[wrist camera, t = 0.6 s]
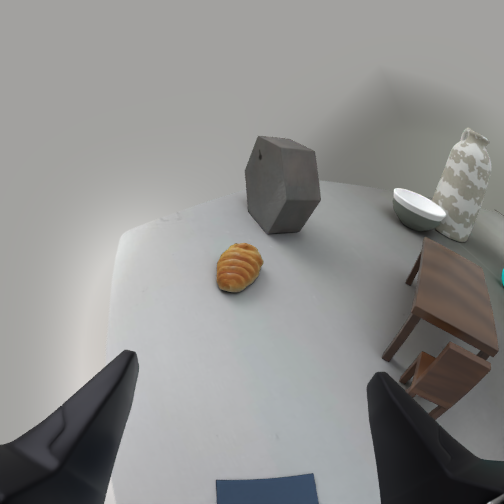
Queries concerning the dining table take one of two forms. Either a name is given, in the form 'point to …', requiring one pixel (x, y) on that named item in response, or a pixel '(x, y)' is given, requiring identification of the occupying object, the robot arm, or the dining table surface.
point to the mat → (268, 491)
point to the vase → (463, 185)
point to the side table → (450, 300)
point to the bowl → (417, 210)
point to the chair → (445, 376)
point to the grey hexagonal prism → (281, 184)
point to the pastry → (238, 267)
